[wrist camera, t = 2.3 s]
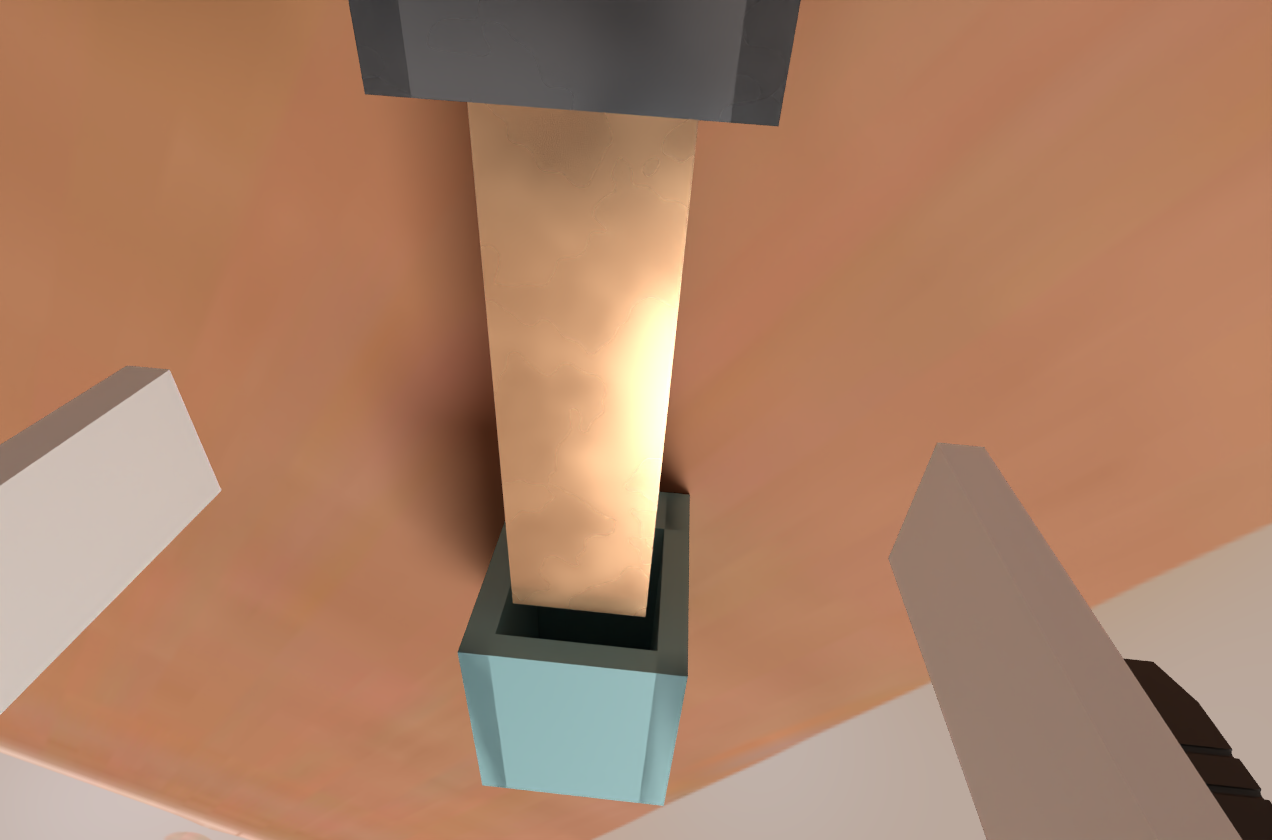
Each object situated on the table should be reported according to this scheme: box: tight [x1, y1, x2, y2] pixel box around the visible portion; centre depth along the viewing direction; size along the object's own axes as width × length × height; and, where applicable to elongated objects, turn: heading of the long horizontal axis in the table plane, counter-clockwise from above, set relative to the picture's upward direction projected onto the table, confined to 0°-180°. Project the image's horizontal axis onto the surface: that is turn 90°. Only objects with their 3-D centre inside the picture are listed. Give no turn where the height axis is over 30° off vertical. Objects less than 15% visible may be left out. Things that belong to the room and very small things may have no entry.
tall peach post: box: [467, 102, 698, 617], centre depth 14 cm, size 26×4×4 cm, turn 177°
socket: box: [458, 492, 690, 806], centre depth 26 cm, size 9×7×9 cm
